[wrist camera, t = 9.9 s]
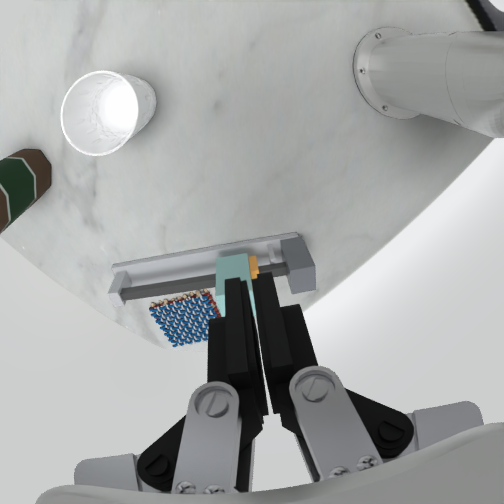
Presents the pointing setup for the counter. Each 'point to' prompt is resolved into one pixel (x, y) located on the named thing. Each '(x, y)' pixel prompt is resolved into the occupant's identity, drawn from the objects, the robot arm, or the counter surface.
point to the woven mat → (186, 317)
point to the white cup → (106, 111)
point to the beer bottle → (22, 183)
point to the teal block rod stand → (213, 268)
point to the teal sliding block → (232, 269)
